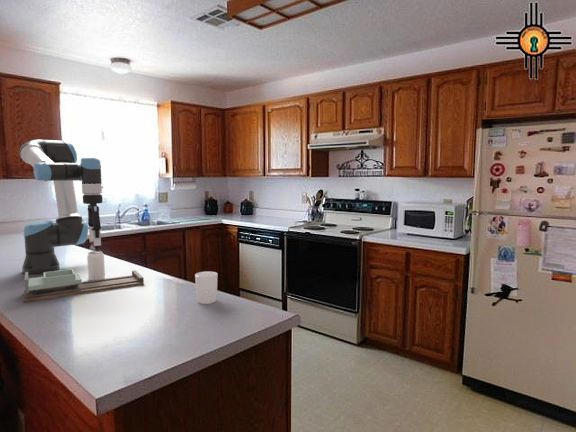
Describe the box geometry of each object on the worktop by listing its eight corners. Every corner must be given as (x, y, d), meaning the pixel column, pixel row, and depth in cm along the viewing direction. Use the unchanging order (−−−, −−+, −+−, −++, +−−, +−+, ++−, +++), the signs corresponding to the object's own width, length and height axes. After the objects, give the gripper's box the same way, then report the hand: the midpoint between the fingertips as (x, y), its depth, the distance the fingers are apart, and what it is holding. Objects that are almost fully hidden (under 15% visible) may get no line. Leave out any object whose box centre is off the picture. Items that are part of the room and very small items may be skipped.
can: (98, 281, 165) (96, 253, 164) (85, 280, 167) (83, 253, 166) (108, 277, 172) (106, 251, 171) (95, 276, 173) (94, 250, 172)
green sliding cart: (26, 287, 150) (25, 272, 149) (78, 280, 160) (77, 266, 159) (25, 296, 139) (24, 279, 138) (82, 288, 149) (81, 272, 148)
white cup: (221, 299, 142) (221, 272, 141) (210, 305, 134) (210, 277, 133) (203, 296, 144) (202, 270, 143) (191, 303, 137) (190, 275, 136)
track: (25, 292, 151) (24, 284, 150) (135, 276, 173) (135, 270, 173) (24, 302, 138) (23, 294, 138) (143, 284, 160) (143, 277, 160)
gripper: (106, 194, 157) (109, 246, 159) (98, 193, 178) (100, 239, 180) (85, 195, 153) (89, 248, 155) (79, 193, 174) (82, 240, 176)
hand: (95, 243), depth 167 cm, fingers open, 13 cm apart
